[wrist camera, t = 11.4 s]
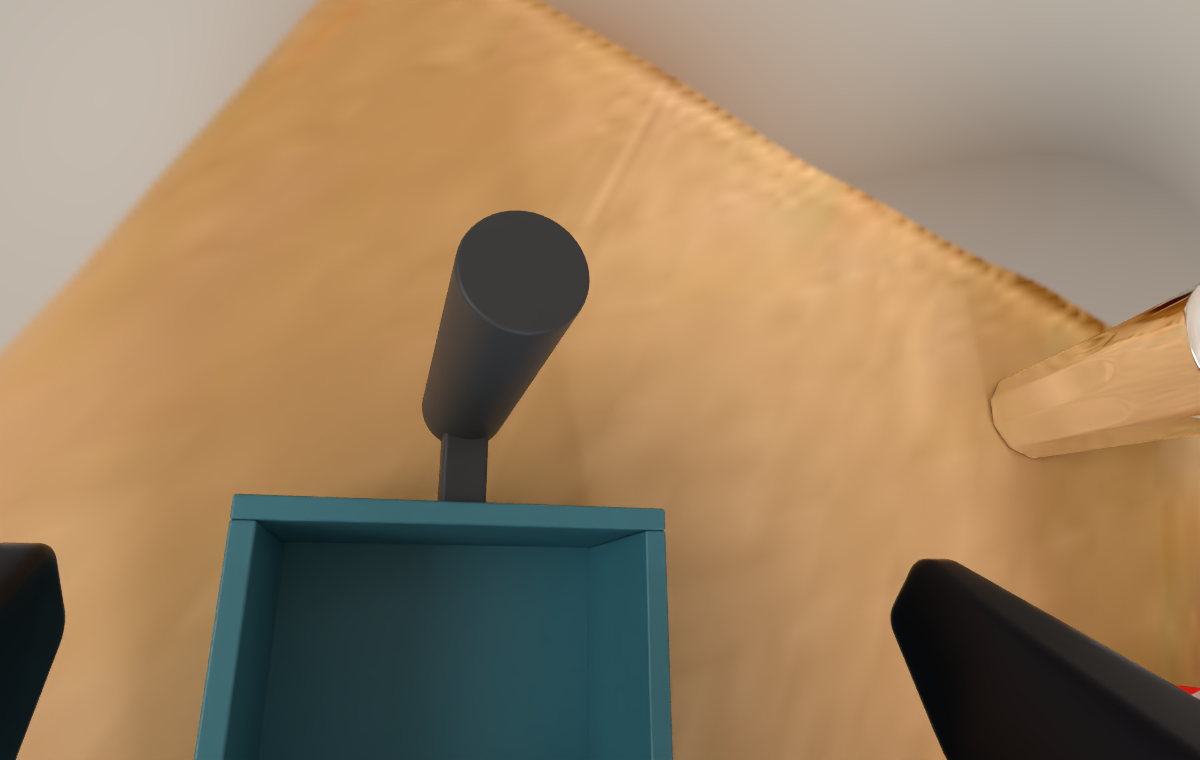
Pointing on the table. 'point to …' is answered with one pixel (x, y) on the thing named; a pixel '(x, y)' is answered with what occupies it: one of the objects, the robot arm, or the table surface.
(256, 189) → the table surface
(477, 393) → the drawer
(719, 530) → the table surface
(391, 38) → the table surface
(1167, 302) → the milkshake
